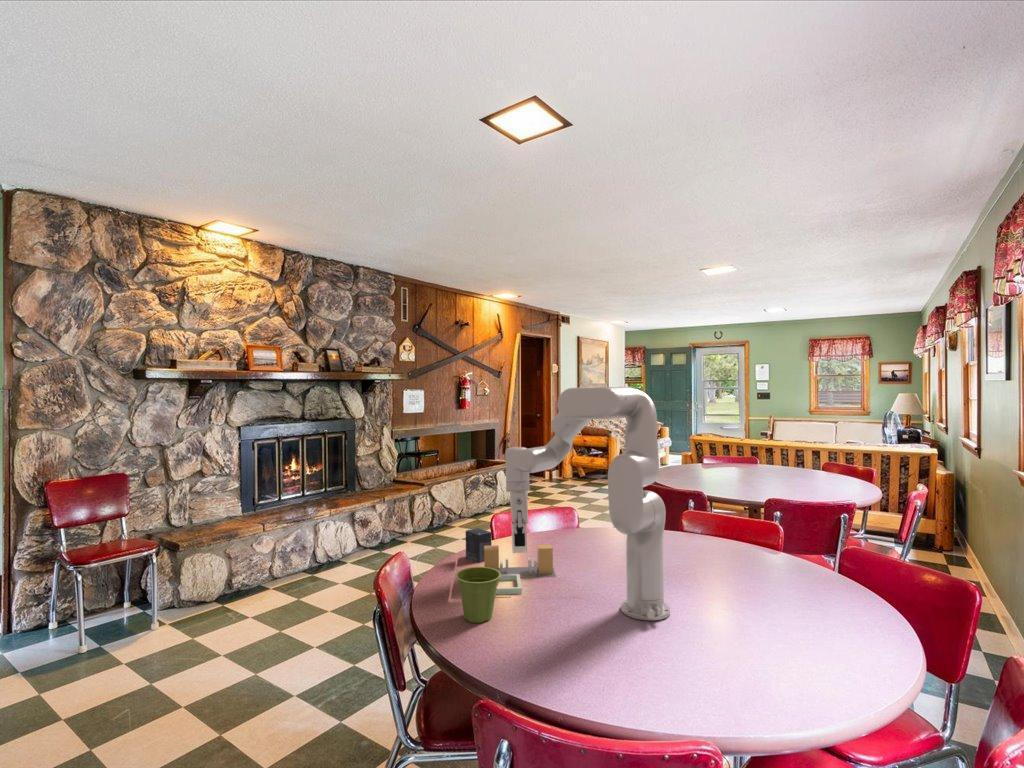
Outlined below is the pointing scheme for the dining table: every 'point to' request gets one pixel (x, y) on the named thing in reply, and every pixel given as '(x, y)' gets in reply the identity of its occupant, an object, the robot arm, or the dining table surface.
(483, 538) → the box
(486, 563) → the fuse block
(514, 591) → the tray
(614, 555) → the dining table surface
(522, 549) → the white block red top
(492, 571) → the plant pot
